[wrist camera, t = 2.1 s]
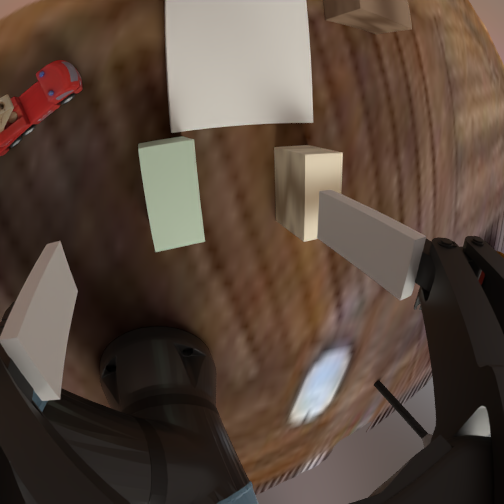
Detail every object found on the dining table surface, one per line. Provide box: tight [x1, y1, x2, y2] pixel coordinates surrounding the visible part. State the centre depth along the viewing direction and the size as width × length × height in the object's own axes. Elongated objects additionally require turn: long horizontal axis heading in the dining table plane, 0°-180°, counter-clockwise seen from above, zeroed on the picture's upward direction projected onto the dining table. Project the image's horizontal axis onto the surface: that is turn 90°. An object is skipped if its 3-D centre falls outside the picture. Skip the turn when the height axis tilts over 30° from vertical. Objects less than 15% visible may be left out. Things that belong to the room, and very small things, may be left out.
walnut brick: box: [323, 0, 412, 34], centre depth 21 cm, size 8×4×6 cm, turn 92°
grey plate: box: [165, 0, 313, 133], centre depth 22 cm, size 15×14×1 cm
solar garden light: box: [374, 381, 432, 448], centre depth 49 cm, size 12×12×30 cm
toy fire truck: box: [0, 60, 82, 156], centre depth 13 cm, size 3×14×10 cm, turn 115°
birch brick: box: [274, 145, 343, 242], centre depth 28 cm, size 8×4×6 cm, turn 2°
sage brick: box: [138, 136, 205, 252], centre depth 23 cm, size 8×4×6 cm, turn 3°
